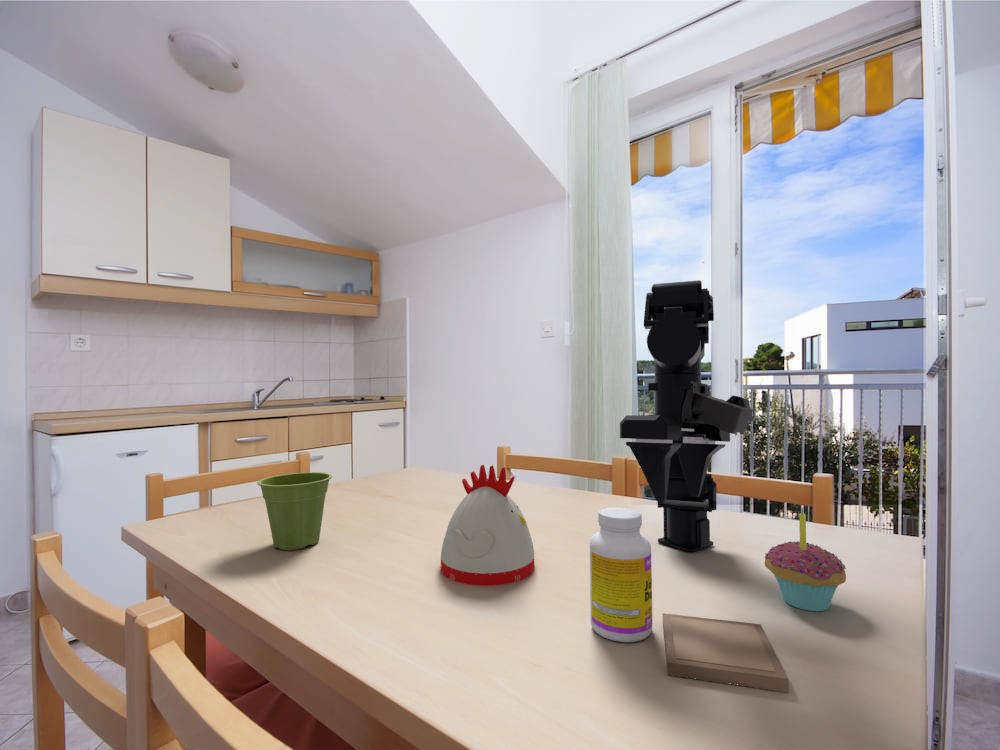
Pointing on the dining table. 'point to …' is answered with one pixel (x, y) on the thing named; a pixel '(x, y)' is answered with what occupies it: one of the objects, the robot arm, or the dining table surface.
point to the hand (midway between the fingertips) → (678, 498)
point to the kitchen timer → (487, 535)
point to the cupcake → (805, 572)
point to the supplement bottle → (620, 577)
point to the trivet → (721, 652)
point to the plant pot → (295, 507)
